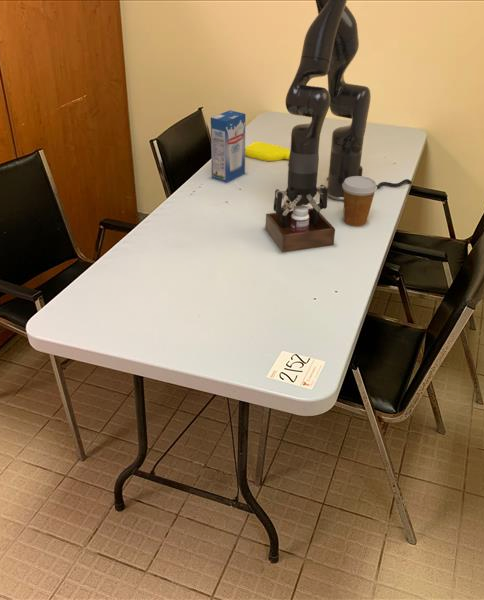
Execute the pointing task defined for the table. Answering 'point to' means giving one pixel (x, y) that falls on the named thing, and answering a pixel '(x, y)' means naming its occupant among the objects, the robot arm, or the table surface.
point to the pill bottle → (299, 219)
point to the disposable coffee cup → (358, 199)
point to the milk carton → (228, 145)
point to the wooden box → (300, 233)
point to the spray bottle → (266, 152)
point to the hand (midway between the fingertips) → (299, 224)
